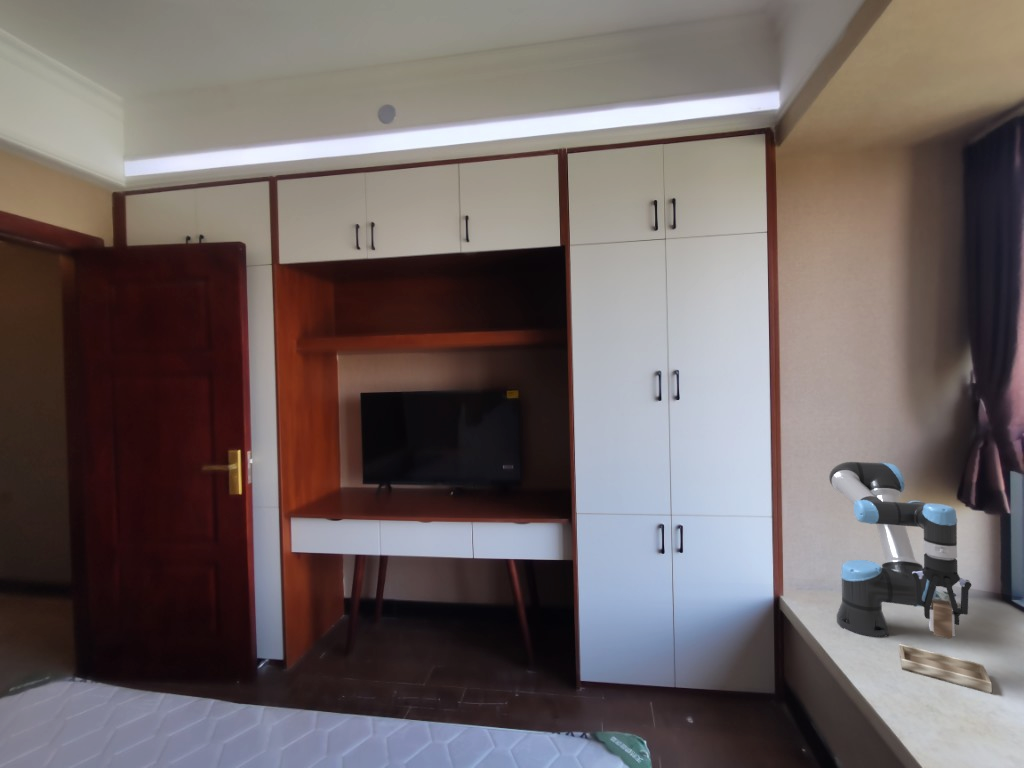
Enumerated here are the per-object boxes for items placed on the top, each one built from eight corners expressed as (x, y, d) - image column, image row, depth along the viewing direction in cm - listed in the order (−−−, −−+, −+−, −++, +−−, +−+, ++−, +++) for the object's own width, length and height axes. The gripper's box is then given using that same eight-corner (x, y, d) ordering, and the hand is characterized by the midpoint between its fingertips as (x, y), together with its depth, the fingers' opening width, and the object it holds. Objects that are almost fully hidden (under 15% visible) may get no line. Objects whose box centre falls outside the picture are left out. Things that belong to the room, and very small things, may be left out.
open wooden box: (902, 669, 143) (901, 659, 143) (899, 652, 152) (899, 643, 151) (991, 693, 131) (991, 683, 131) (983, 674, 140) (983, 664, 140)
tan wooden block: (934, 634, 140) (933, 605, 140) (931, 626, 145) (931, 597, 145) (952, 639, 138) (951, 609, 138) (948, 630, 142) (948, 601, 142)
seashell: (946, 594, 184) (910, 586, 188) (957, 592, 178) (919, 583, 182) (948, 611, 182) (911, 602, 185) (959, 610, 175) (921, 600, 179)
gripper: (904, 553, 143) (906, 628, 143) (982, 566, 133) (983, 646, 133) (902, 546, 149) (904, 618, 149) (976, 557, 139) (978, 634, 139)
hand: (941, 631), depth 141 cm, fingers closed on tan wooden block, 4 cm apart
